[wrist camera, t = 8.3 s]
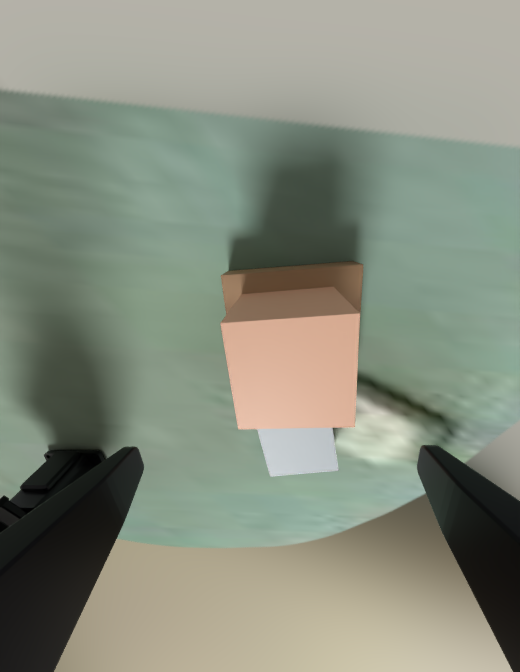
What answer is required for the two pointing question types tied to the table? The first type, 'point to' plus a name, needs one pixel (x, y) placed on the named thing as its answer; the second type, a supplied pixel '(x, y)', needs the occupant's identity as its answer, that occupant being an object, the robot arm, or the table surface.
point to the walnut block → (295, 280)
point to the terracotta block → (293, 359)
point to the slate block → (298, 450)
